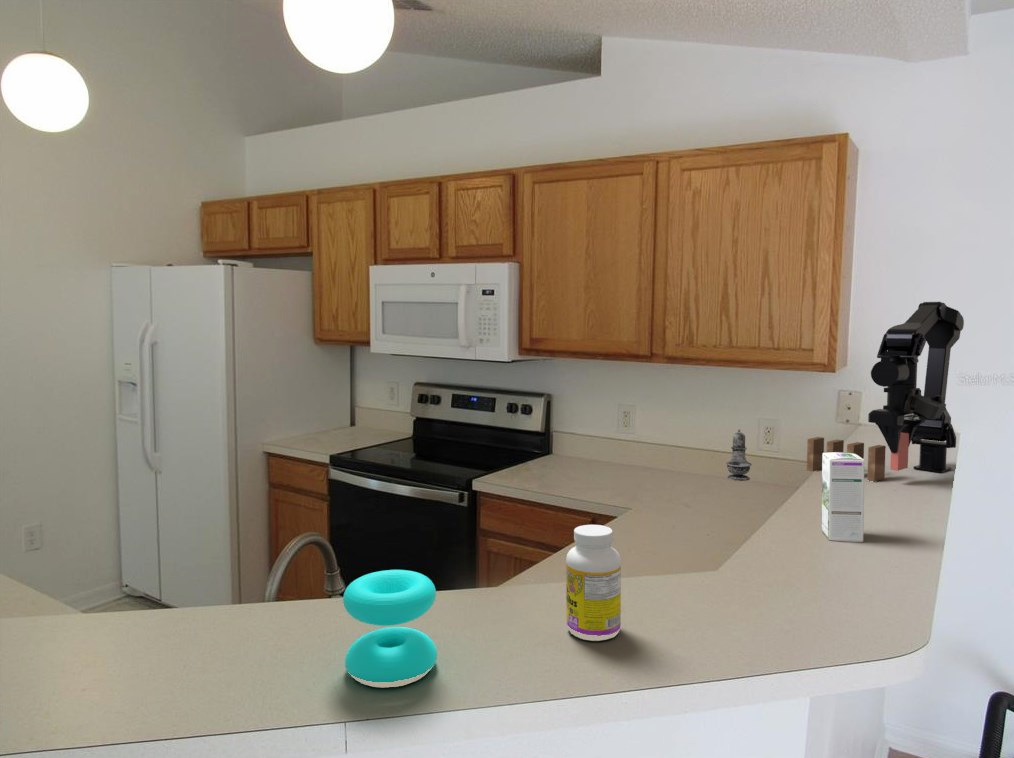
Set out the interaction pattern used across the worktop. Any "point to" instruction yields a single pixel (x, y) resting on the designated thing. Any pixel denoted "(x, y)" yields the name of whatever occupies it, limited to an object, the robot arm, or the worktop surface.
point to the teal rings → (390, 604)
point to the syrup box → (842, 496)
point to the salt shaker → (738, 459)
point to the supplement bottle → (593, 582)
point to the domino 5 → (901, 454)
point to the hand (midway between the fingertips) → (899, 451)
